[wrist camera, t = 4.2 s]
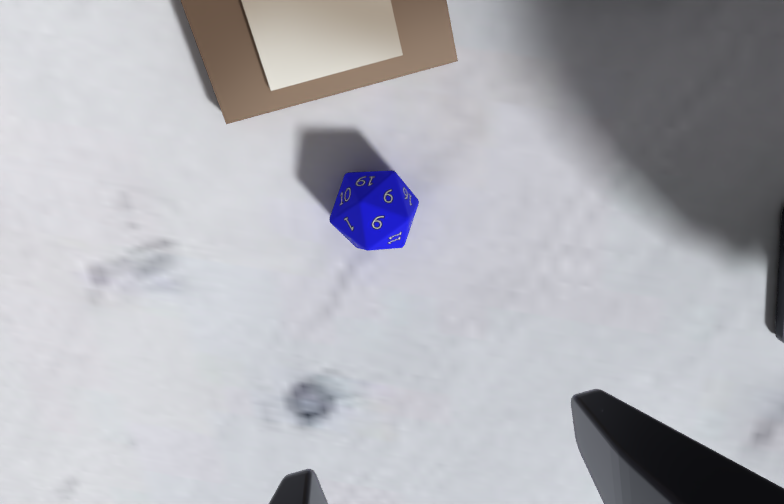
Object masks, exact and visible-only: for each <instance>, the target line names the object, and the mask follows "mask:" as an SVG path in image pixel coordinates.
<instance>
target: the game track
mask: <svg viewBox="0 0 784 504" xmlns="http://www.w3.org/2000/svg"><path fill="white" fill-rule="evenodd" d="M181 3H182V5H183V8H184V11H185V14H186V16H187V19H188V22H189V24H190V27H191V30H192V32H193V35H194V38H195V41H196V43H197V46H198V49H199V51H200V54H201V57H202V60H203V62H204V65H205V68H206V70H207V73H208V76H209V79H210V81H211V84H212V87H213V89H214V92H215V95H216V97H217V100H218V103H219V106H220V108H221V111H222V114H223V116H224V119H225V122H226V124H229V123H232V122H236V121H240V120H243V119H247V118H251V117H254V116H258V115H262V114H265V113H269V112H273V111H276V110H280V109H284V108H287V107H291V106H295V105H298V104H302V103H306V102H309V101H313V100H317V99H320V98H324V97H328V96H331V95H335V94H339V93H342V92H346V91H350V90H353V89H357V88H361V87H364V86H368V85H372V84H375V83H379V82H383V81H386V80H390V79H394V78H397V77H401V76H405V75H408V74H412V73H416V72H419V71H423V70H427V69H430V68H434V67H438V66H441V65H445V64H449V63H452V62H456V61H458V60H457V55H456V49H455V44H454V38H453V33H452V28H451V22H450V17H449V12H448V6H447V1H446V0H181Z"/></svg>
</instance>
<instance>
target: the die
mask: <svg viewBox="0 0 784 504" xmlns="http://www.w3.org/2000/svg"><path fill="white" fill-rule="evenodd" d="M418 204H419V201H418V199H417V198H416V197H415V195H414V194H413V193H412V192H411V190H410V189H409V188H408V187H407V186H406V184H405V183H404V182H403V181H402V179H401V178H400V177H399V176H398V175H397V173H396V172H395V171H371V172H350V173H346V174H345V175H344V178H343V181H342V184H341V187H340V190H339V193H338V195H337V198H336V201H335V204H334V207H333V210H332V213H331V216H330V223H331V224H332V225H333V226H334V227H335V228H337V229H338V230H339V231H340V232H341V233H342V234H343V235H344V236H345V237H346V238H347V239H348V240H349V241H350V242H351V243H352V244H353V245H354V246H355V247H357V248H360V249H364V250H379V249H392V248H402V247H403V246H404V245H405V242H406V239H407V236H408V233H409V230H410V227H411V224H412V221H413V218H414V215H415V212H416V210H417V207H418Z"/></svg>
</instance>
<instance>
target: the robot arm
mask: <svg viewBox="0 0 784 504" xmlns="http://www.w3.org/2000/svg"><path fill="white" fill-rule="evenodd" d="M775 334H776V337H777V338H778V339H779V340H780V341H782V342H783V343H784V208H783V211H782V221H781V240H780V258H779V276H778V295H777V313H776V331H775ZM571 409H572V416H573V424H574V431H575V438H576V442H577V445H578V448H579V451H580V453H581V456H582V458H583V460H584V462H585V464H586V466H587V468H588V471H589V473H590V475H591V477H592V479H593V481H594V483H595V486H596V488H597V490H598V492H599V494H600V496H601V498H602V500H603V503H604V504H784V488H782V487H780V486H778V485H776V484H774V483H773V482H771V481H769V480H767V479H765V478H763V477H761V476H760V475H758V474H756V473H754V472H752V471H750V470H749V469H747V468H745V467H743V466H741V465H739V464H737V463H736V462H734V461H732V460H730V459H728V458H726V457H725V456H723V455H721V454H719V453H717V452H715V451H713V450H712V449H710V448H708V447H706V446H704V445H702V444H700V443H699V442H697V441H695V440H693V439H691V438H689V437H688V436H686V435H684V434H682V433H680V432H678V431H676V430H675V429H673V428H671V427H669V426H667V425H665V424H664V423H662V422H660V421H658V420H656V419H654V418H652V417H651V416H649V415H647V414H645V413H643V412H641V411H639V410H638V409H636V408H634V407H632V406H630V405H628V404H627V403H625V402H623V401H621V400H619V399H617V398H615V397H614V396H612V395H610V394H608V393H606V392H604V391H602V390H599V389H593V390H589V391H586V392H582V393H579V394H575V395H574V396H573V397H572V398H571ZM269 504H328V503H327V500H326V498H325V495H324V493H323V490H322V488H321V485H320V483H319V480H318V478H317V476H316V474H315V472H314V471H313V470H311V469H306V470H302V471H299V472H295V473H291V474H288V475H286V476H285V477H284V478H283V480H282V481H281V483H280V485H279V487H278V488H277V490H276V492H275V494H274V495H273V497H272V499H271V501H270V503H269Z"/></svg>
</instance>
